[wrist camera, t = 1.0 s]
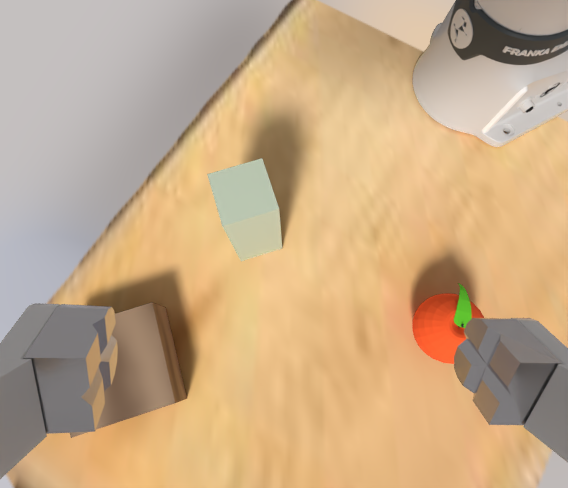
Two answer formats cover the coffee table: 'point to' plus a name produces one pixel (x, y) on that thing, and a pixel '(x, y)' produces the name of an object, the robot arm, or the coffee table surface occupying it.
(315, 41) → the coffee table surface
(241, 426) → the coffee table surface
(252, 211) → the sage block
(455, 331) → the red tomato
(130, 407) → the walnut block
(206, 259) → the coffee table surface
